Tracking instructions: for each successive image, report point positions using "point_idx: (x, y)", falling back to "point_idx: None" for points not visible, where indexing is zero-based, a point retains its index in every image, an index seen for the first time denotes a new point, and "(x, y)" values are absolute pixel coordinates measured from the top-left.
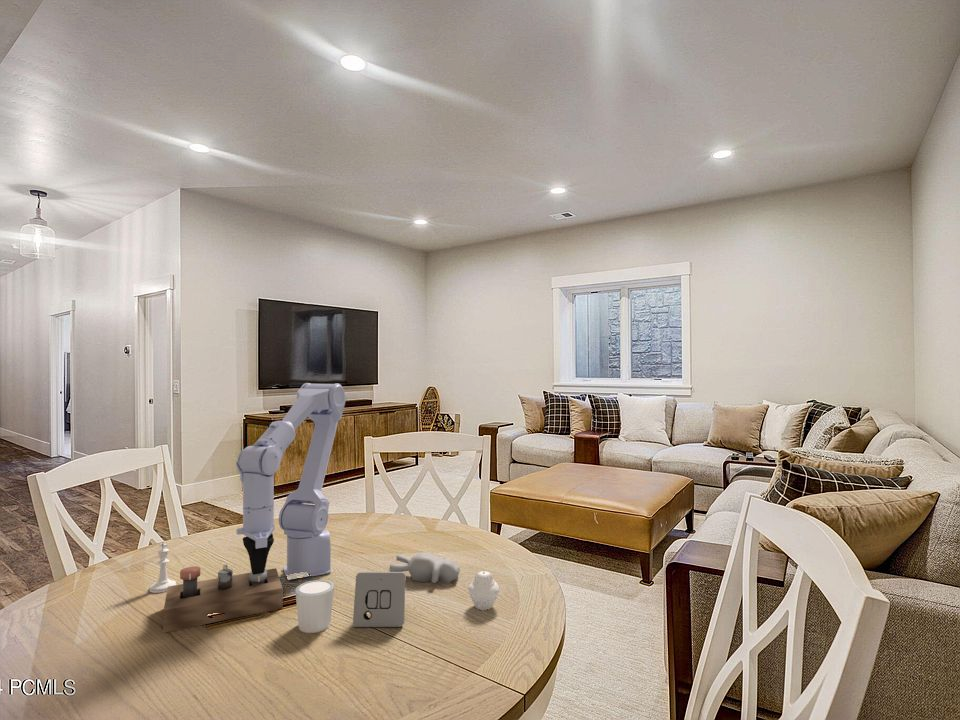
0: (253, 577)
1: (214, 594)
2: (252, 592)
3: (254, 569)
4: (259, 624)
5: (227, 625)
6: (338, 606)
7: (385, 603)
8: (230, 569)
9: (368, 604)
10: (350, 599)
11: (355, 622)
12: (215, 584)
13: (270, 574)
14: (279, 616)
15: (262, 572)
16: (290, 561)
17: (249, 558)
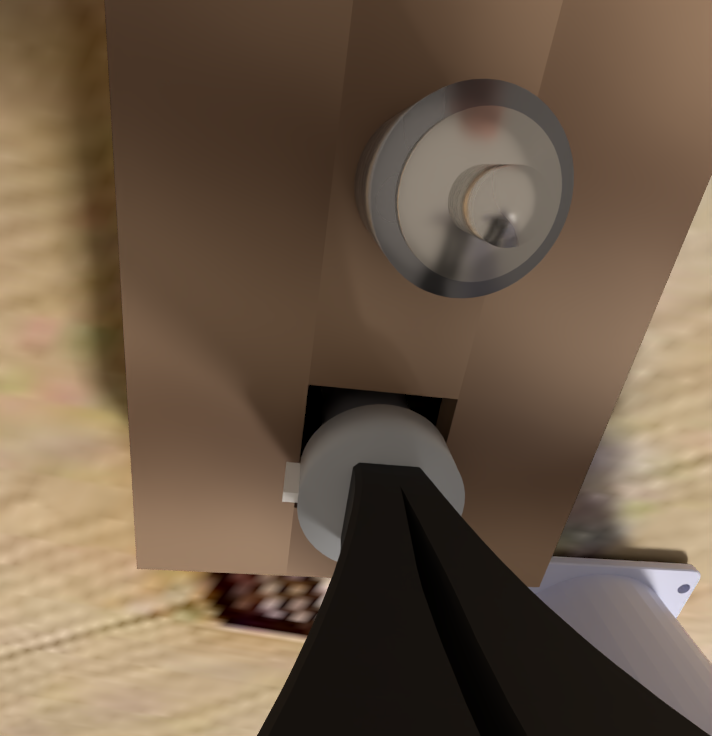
0: (319, 452)
1: (292, 39)
2: (151, 382)
3: (350, 510)
4: (12, 329)
5: (81, 140)
6: (76, 663)
7: None
8: (467, 277)
9: None
10: (129, 706)
11: None
12: (566, 106)
13: None
14: (80, 441)
15: (343, 537)
16: (605, 655)
17: (495, 560)
